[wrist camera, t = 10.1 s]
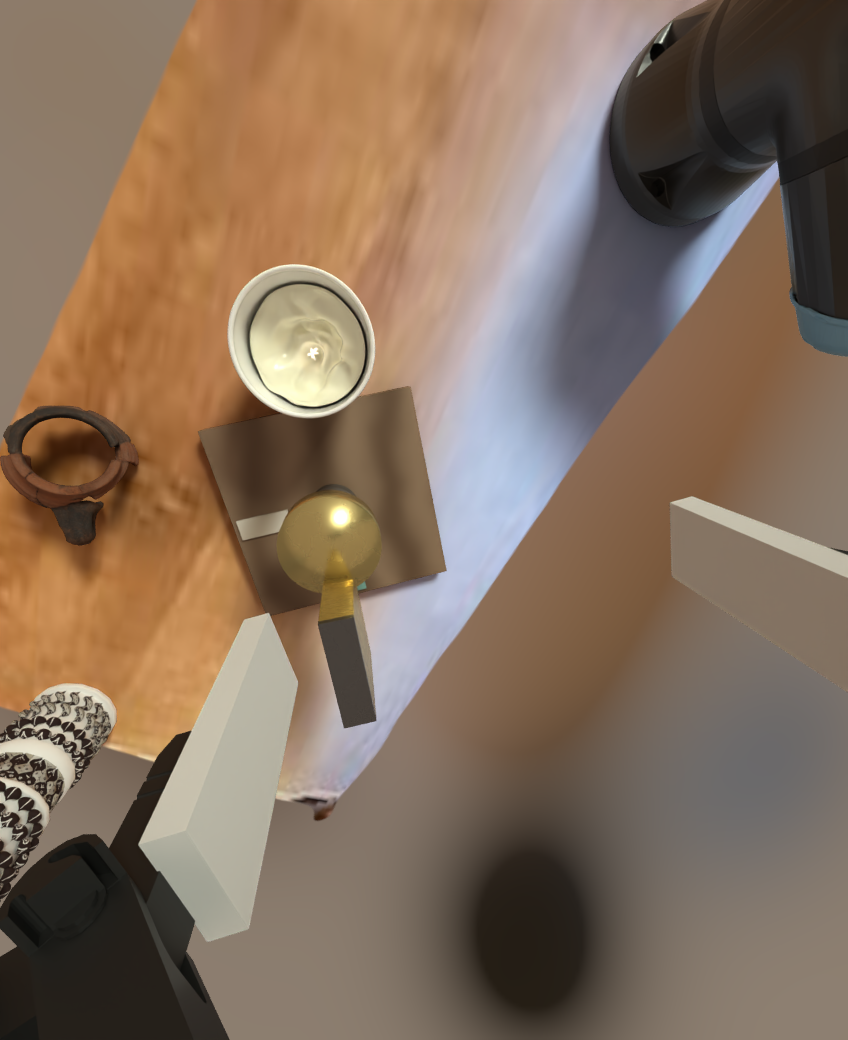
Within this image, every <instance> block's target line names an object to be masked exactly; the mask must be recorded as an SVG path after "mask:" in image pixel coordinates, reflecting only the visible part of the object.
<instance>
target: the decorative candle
mask: <svg viewBox="0 0 848 1040" xmlns="http://www.w3.org/2000/svg"><path fill="white" fill-rule="evenodd" d="M29 705H30V706H31V707H30V710H26V709H25V710H23V711H22V712H20V713H19V715H18V716H19V717H20V718H21V720H19V721H17V720H14V721H12V723H11V725H9V726H8V727H6V728H5V730H4V733H2V734H0V899H2V898H4V897H5V896H6V895H7V894H8V893H9V891H10V889H11V885H10V883H9V882H11V881H12V880H13V879H14V878H15V877H16V876H17V875H18V873H19V868H21V867H23V866H24V865H25V864H26V862H27V860H28V856H29V852H30V851H32V850H34V849H35V848H36V847H37V846H38V843H39V839H38V838H39V837H40V836H41V835H42V834H43V832H44V830H45V828H46V826H47V825H48V823H49V821H50V813H51V811H52V810H53V808H54V807H55V805H56V804H57V803H59V802H60V801H61V800H62V798H63V797H64V795H65V794H66V793H67V791H68V790H69V789H71V788H72V787H73V786H74V785H75V783H76V782H78V781H79V780H80V779H81V776H82V773H83V772H84V769H86V768H87V767H88V766H89V765H90V760H92V759H93V757H94V756H95V755H97V753H98V752H99V750H100V749H101V745H102V744H103V743H104V742H105V741H106V740H107V738H108V735H109V734H110V732H111V731H112V729H113V727H114V725H115V724H116V722H117V710H116V708H115V706H114V704H113V703H112V701H111V699H110V698H109V697H108V696H106V695H105V694H104V693H102V692H101V691H100V690H98V689H96V688H93V687H90V686H87V685H84V684H73V683H64V684H60V685H56V686H52V687H49V688H48V689H46V690H45V691H43V692H42V693H41V694H39V695H38V696H37V697H36V698H35V700H34V701H32V702H30V704H29Z"/></svg>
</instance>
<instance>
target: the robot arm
mask: <svg viewBox="0 0 848 1040" xmlns="http://www.w3.org/2000/svg"><path fill="white" fill-rule="evenodd" d="M610 153H611V160H612V166H613V170H614V173H615V177H616V180H617V182H618V185H619V187H620V189H621V191H622V193H623V195H624V196H625V198H626V199H627V201H628V202H629V203H630V205H631V206H632V207H633V208H634V209H635V210H636V211H637V212H638V213H639V214H640V215H642V216H643V217H645V218H646V219H648V220H650V221H652V222H654V223H657V224H660V225H664V226H684V225H688V224H692V223H695V222H697V221H699V220H702V219H704V218H706V217H708V216H710V215H713V214H715V213H717V212H719V211H720V210H722V209H723V208H725V207H726V206H728V205H729V204H731V203H732V202H733V201H735V200H736V199H737V198H738V197H739V196H740V195H741V194H742V193H743V192H744V191H745V190H746V189H748V188H749V187H750V186H751V185H752V184H753V183H754V182H755V181H756V180H757V179H758V178H759V177H760V176H761V175H762V174H763V173H764V172H765V171H766V170H768V169H769V168H770V167H771V166H772V165H773V164H774V163H775V162H776V161H777V163H778V169H779V177H780V189H781V198H782V206H783V215H784V224H785V232H786V241H787V250H788V258H789V266H790V275H791V284H792V287H791V289H790V299H791V302H792V304H793V305H794V306H795V309H796V314H797V320H798V326H799V331H800V334H801V336H802V338H803V340H804V341H805V342H807V343H809V344H810V345H812V346H813V347H814V348H815V349H817V350H819V351H822V352H825V353H828V354H833V355H839V356H846V357H848V0H707V1H705V2H703V3H701V4H699V5H697V6H695V7H693V8H691V9H689V10H687V11H685V12H684V13H682V14H680V15H679V16H677V17H676V18H674V19H673V20H672V21H670V22H669V23H668V24H667V25H665V26H664V27H663V28H662V29H661V30H660V31H659V32H658V33H657V34H656V35H655V36H654V37H653V39H652V40H651V41H650V42H649V43H648V44H647V45H646V46H645V47H644V49H643V50H642V51H641V52H640V53H639V54H638V56H637V57H636V58H635V60H634V61H633V63H632V64H631V66H630V67H629V69H628V71H627V73H626V74H625V76H624V78H623V81H622V83H621V85H620V88H619V90H618V93H617V96H616V99H615V103H614V107H613V112H612V117H611V125H610ZM670 526H671V529H670V530H671V565H672V577H673V578H675V579H676V580H678V581H679V582H681V583H683V584H684V585H686V586H687V587H689V588H690V589H692V590H693V591H695V592H696V593H698V594H699V595H701V596H702V597H704V598H705V599H707V600H708V601H710V602H711V603H713V604H714V605H716V606H717V607H719V608H720V609H722V610H723V611H725V612H727V613H728V614H729V615H731V616H733V617H734V618H736V619H737V620H739V621H740V622H742V623H743V624H745V625H747V626H748V627H749V628H751V629H752V630H754V631H756V632H757V633H758V634H760V635H761V636H763V637H764V638H766V639H767V640H769V641H770V642H772V643H774V644H775V645H777V646H778V647H780V648H781V649H783V650H784V651H786V652H787V653H789V654H790V655H792V656H793V657H795V658H796V659H798V660H799V661H801V662H802V663H804V664H805V665H807V666H808V667H810V668H812V669H813V670H814V671H816V672H817V673H819V674H821V675H822V676H824V677H825V678H827V679H828V680H830V681H831V682H833V683H834V684H836V685H837V686H839V687H841V688H842V689H843V690H845V691H846V692H848V551H843V550H838V549H833V548H828V547H825V546H822V545H819V544H816V543H813V542H811V541H809V540H806V539H804V538H801V537H798V536H796V535H792V534H790V533H788V532H785V531H782V530H780V529H777V528H774V527H772V526H769V525H766V524H764V523H761V522H758V521H756V520H753V519H750V518H748V517H745V516H742V515H740V514H737V513H734V512H732V511H729V510H727V509H724V508H721V507H718V506H716V505H713V504H711V503H708V502H705V501H703V500H700V499H697V498H695V497H688V498H685V499H681V500H677V501H674V502H670ZM297 688H298V681H297V678H296V676H295V674H294V671H293V669H292V666H291V664H290V662H289V659H288V657H287V655H286V652H285V650H284V647H283V645H282V643H281V640H280V638H279V636H278V633H277V631H276V629H275V626H274V624H273V621H272V619H271V617H270V614H269V613H266V614H263V615H259V616H256V617H252V618H248V619H245V620H244V621H243V623H242V625H241V627H240V630H239V632H238V634H237V636H236V638H235V640H234V642H233V644H232V647H231V649H230V651H229V653H228V655H227V657H226V659H225V661H224V664H223V666H222V668H221V670H220V672H219V674H218V676H217V678H216V681H215V683H214V685H213V687H212V689H211V691H210V693H209V695H208V698H207V700H206V702H205V704H204V706H203V708H202V710H201V712H200V714H199V717H198V719H197V721H196V723H195V725H194V727H193V729H192V731H188V732H185V733H182V734H178V735H176V736H175V737H174V738H173V739H172V740H171V742H170V743H169V744H168V745H167V746H166V747H165V748H164V750H163V751H162V752H161V753H160V754H159V755H158V757H157V759H156V760H155V762H154V764H153V766H152V768H151V770H150V772H149V774H148V776H147V781H146V782H144V783H143V785H142V787H141V789H140V791H139V793H138V795H137V800H135V801H134V802H133V804H132V806H131V808H130V810H129V811H128V813H127V815H126V817H125V819H124V821H123V823H122V825H121V827H120V829H119V830H118V832H117V834H116V836H115V838H114V840H113V842H112V844H111V846H110V847H109V848H108V847H107V846H106V844H105V843H104V842H103V840H102V839H100V838H99V837H98V836H97V835H96V834H90V835H89V834H88V835H85V834H83V835H81V836H79V837H76V838H73V839H71V840H68V841H66V842H64V843H63V844H61V845H59V846H58V847H57V848H55V849H53V850H52V851H50V852H48V853H47V854H46V855H45V856H44V857H43V858H41V859H40V860H39V861H38V862H37V863H36V864H34V865H33V866H32V867H31V868H30V869H29V870H28V871H27V872H26V873H25V874H24V875H23V876H22V878H21V879H20V880H19V881H18V882H17V883H16V885H15V886H14V887H13V888H12V889H11V891H10V892H9V894H8V896H7V898H6V899H5V901H4V903H3V904H2V906H1V908H0V929H1V930H2V931H3V932H4V933H5V934H6V935H7V936H8V937H9V938H10V939H11V940H12V941H13V942H14V943H15V944H16V945H17V947H16V948H14V949H12V950H11V951H9V952H7V953H6V954H4V955H2V956H1V957H0V1040H229V1038H228V1036H227V1033H226V1031H225V1029H224V1027H223V1025H222V1023H221V1020H220V1018H219V1016H218V1014H217V1012H216V1010H215V1007H214V1005H213V1003H212V1001H211V999H210V997H209V994H208V992H207V990H206V988H205V986H204V984H203V982H202V979H201V977H200V975H199V973H198V971H197V968H196V966H195V964H194V962H193V960H192V959H191V957H190V956H189V955H188V953H187V952H186V950H187V947H188V944H189V940H190V937H191V934H192V930H193V927H194V924H195V925H196V927H197V928H198V930H199V931H200V932H201V934H202V935H203V937H204V938H205V940H206V941H207V942H210V941H213V940H216V939H220V938H223V937H226V936H229V935H232V934H236V933H239V932H241V931H245V930H248V929H249V926H250V921H251V916H252V911H253V906H254V901H255V896H256V891H257V886H258V881H259V876H260V871H261V867H262V862H263V856H264V852H265V847H266V841H267V837H268V832H269V827H270V822H271V817H272V812H273V807H274V801H275V797H276V792H277V787H278V782H279V777H280V772H281V767H282V762H283V757H284V752H285V747H286V742H287V737H288V732H289V727H290V722H291V717H292V712H293V707H294V702H295V698H296V693H297Z"/></svg>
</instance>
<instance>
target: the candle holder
mask: <svg viewBox="0 0 848 1040" xmlns="http://www.w3.org/2000/svg"><path fill="white" fill-rule="evenodd" d="M228 346H229V351H230V356H231V359H232V362H233V365H234V367H235V369H236V371H237V373H238V375H239V377H240V378H241V380H242V382H243V383H244V384H245V386H246V387H247V388H248V389H249V391H250V392H251V393H252V394H253V395H254V396H255V397H256V398H257V399H259V400H260V401H261V402H262V403H264V404H265V405H267V406H268V407H270V408H272V409H274V410H275V411H278V412H280V413H282V414H285V415H288V416H292V417H297V418H320V417H325V416H328V415H331V414H334V413H336V412H338V411H340V410H342V409H344V408H345V407H347V406H348V405H350V404H351V403H352V402H353V401H354V400H355V399H356V398H357V397H358V396H359V395H360V393H361V392H362V391H363V389H364V388H365V386H366V384H367V382H368V380H369V378H370V376H371V373H372V369H373V365H374V360H375V338H374V332H373V328H372V325H371V322H370V319H369V316H368V314H367V312H366V310H365V308H364V306H363V305H362V303H361V302H360V300H359V299H358V297H357V296H356V295H355V294H354V293H353V291H352V290H351V289H350V288H349V287H348V286H347V285H345V284H344V283H343V282H342V281H341V280H339V279H338V278H336V277H335V276H333V275H331V274H330V273H328V272H325V271H323V270H321V269H318V268H315V267H311V266H306V265H297V264H291V265H282V266H277V267H274V268H271V269H268V270H266V271H264V272H262V273H260V274H259V275H257V276H256V277H254V278H253V279H252V280H251V281H250V282H249V283H247V285H246V286H245V287H244V288H243V289H242V290H241V292H240V293H239V295H238V296H237V298H236V300H235V302H234V304H233V307H232V310H231V313H230V317H229V322H228Z"/></svg>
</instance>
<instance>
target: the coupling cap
mask: <svg viewBox="0 0 848 1040" xmlns="http://www.w3.org/2000/svg"><path fill="white" fill-rule="evenodd" d="M381 551H382V541H381V535H380V530H379V526H378V522H377V519H376V517H375V515H374V513H373V512H372V510H371V509H370V508H369V507H368V506H367V505H366V504H365V503H364V502H363V501H362V500H361V499H359V498H358V497H356V496H354V495H352V494H349V493H347V492H343V491H338V490H322V491H318V492H314V493H311V494H309V495H307V496H305V497H303V498H302V499H300V500H299V501H297V502H296V503H295V504H294V505H293V506H292V508H291V509H290V510H289V511H288V513H287V515H286V517H285V519H284V521H283V523H282V525H281V528H280V530H279V533H278V537H277V555H278V559H279V562H280V564H281V566H282V568H283V570H284V571H285V573H286V574H287V575H288V576H289V577H290V578H291V579H292V580H293V581H294V582H295V583H297V584H298V585H300V586H301V587H303V588H305V589H307V590H310V591H313V592H317V593H322V597H321V605H320V613H319V621H318V627H319V631H320V635H321V639H322V642H323V646H324V650H325V654H326V658H327V662H328V666H329V670H330V674H331V678H332V682H333V686H334V690H335V694H336V698H337V702H338V706H339V710H340V714H341V718H342V722H343V726H344V728H348V727H353V726H357V725H361V724H365V723H370V722H374V721H376V710H375V698H374V685H373V673H372V661H371V651H370V646H369V642H368V637H367V632H366V627H365V623H364V618H363V613H362V608H361V604H360V599H359V594H358V589H357V586H359V585H360V584H362V583H363V582H365V581H366V580H367V579H368V578H369V577H370V576H371V574H372V573H373V572H374V570H375V569H376V567H377V565H378V563H379V560H380V557H381Z"/></svg>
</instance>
